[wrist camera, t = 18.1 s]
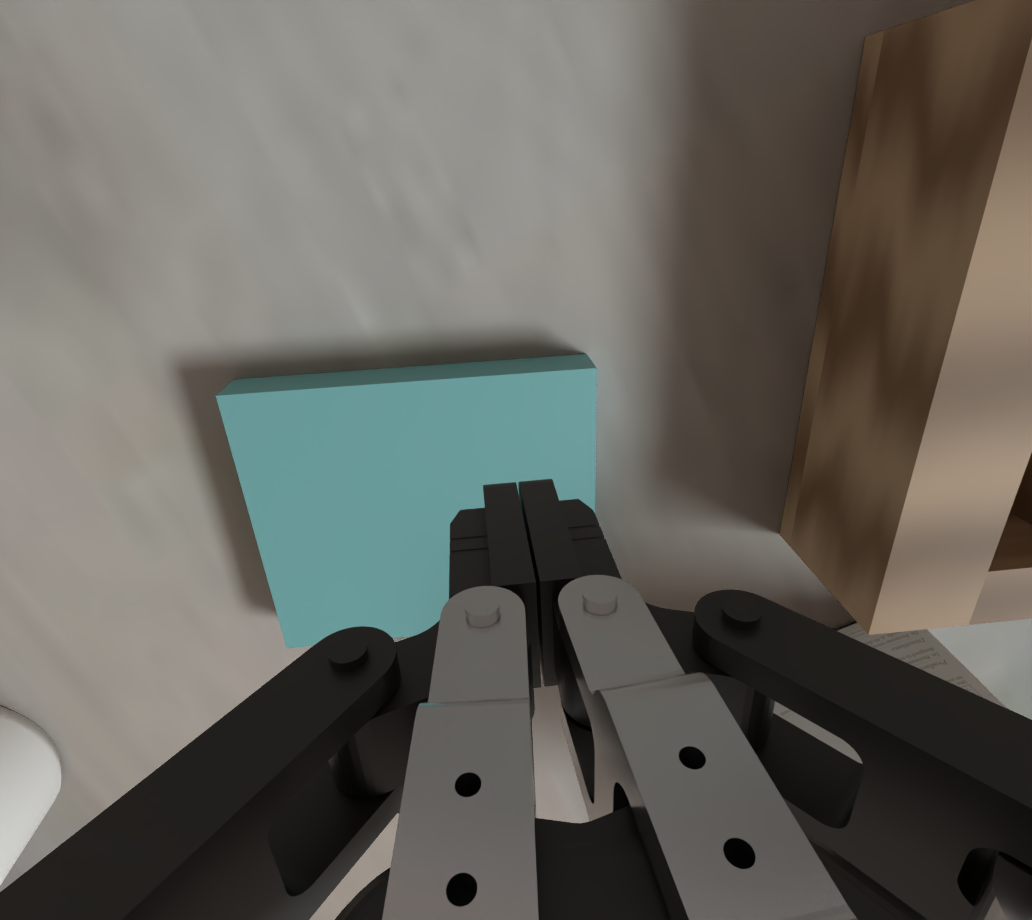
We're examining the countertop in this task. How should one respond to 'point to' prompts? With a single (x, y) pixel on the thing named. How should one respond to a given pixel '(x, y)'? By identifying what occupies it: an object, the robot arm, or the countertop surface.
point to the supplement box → (906, 647)
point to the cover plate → (395, 476)
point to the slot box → (926, 335)
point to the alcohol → (24, 783)
